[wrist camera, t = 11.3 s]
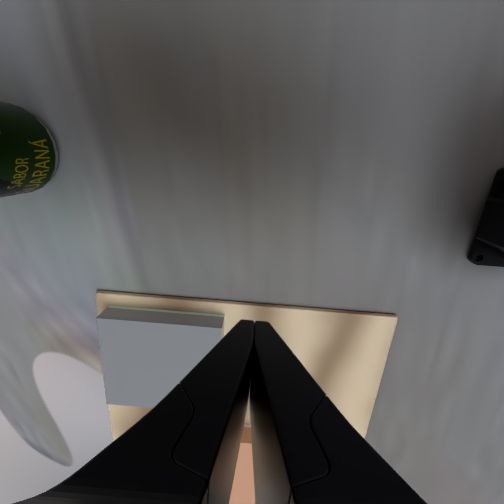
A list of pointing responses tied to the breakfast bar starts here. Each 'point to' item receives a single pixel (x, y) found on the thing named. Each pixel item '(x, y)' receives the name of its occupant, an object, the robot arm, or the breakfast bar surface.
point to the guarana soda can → (24, 151)
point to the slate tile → (151, 350)
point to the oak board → (292, 347)
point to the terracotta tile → (244, 472)
